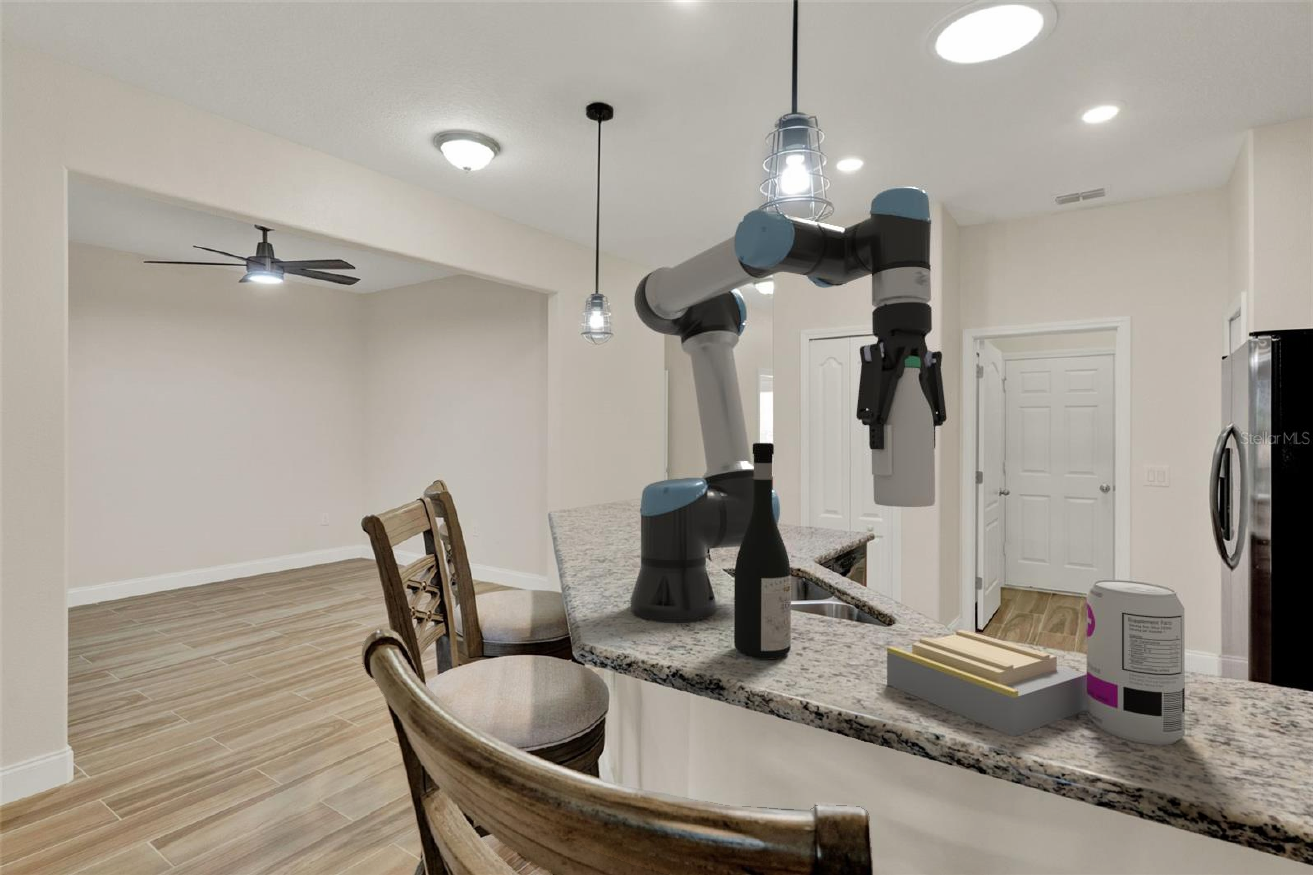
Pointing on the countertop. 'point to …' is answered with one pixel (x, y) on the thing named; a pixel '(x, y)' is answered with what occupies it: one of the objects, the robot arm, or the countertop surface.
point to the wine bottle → (762, 574)
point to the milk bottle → (909, 446)
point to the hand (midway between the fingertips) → (903, 474)
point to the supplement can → (1136, 661)
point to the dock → (988, 681)
